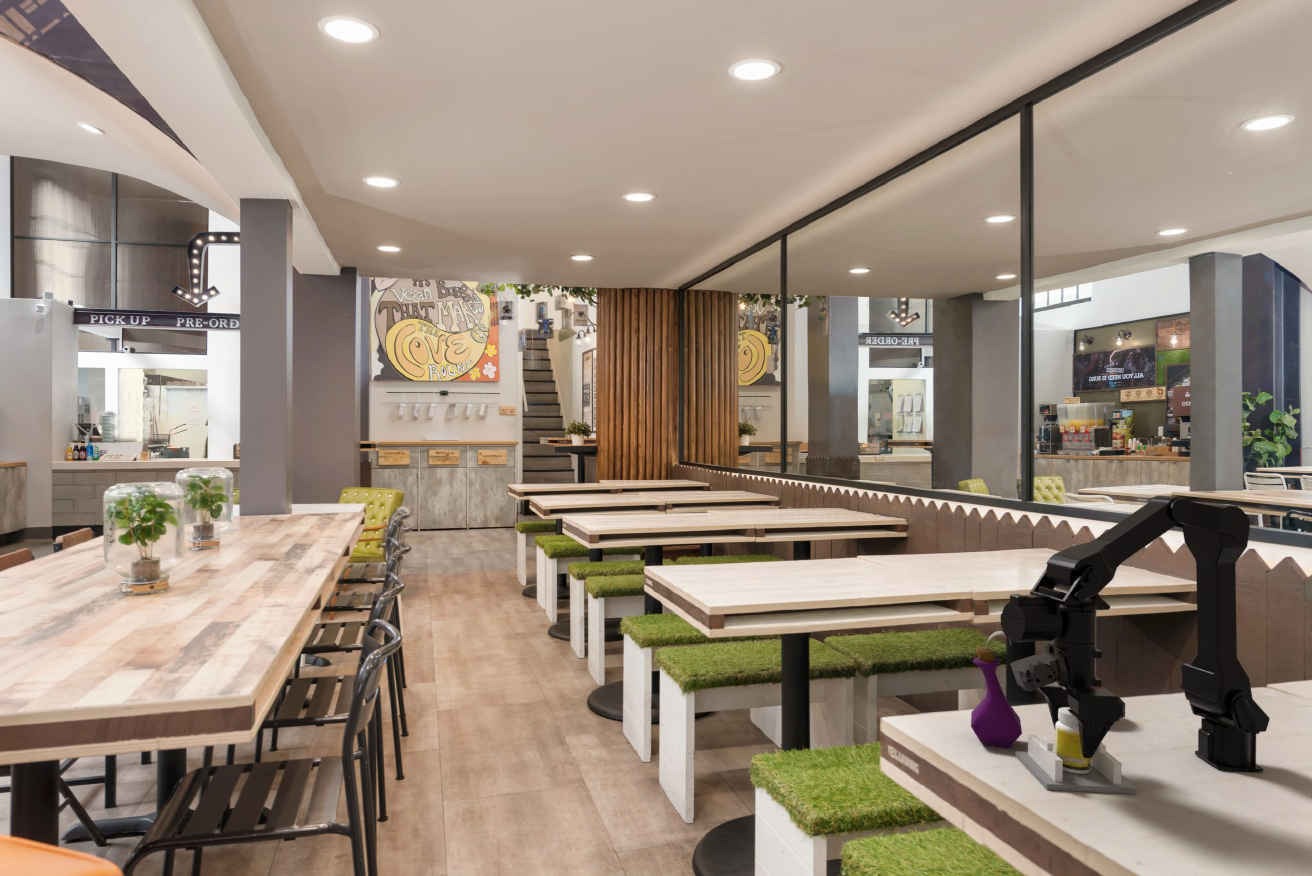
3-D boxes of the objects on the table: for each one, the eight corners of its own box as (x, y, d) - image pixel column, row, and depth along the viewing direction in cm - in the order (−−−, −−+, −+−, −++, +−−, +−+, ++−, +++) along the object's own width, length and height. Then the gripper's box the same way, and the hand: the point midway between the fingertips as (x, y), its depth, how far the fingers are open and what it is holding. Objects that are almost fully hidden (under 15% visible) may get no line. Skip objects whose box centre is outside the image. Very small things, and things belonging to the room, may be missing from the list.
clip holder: (1095, 760, 124) (1096, 728, 124) (1135, 793, 112) (1136, 759, 112) (1015, 756, 125) (1015, 725, 125) (1046, 789, 113) (1047, 755, 113)
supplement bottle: (1095, 776, 116) (1096, 718, 116) (1060, 773, 117) (1061, 715, 117) (1084, 763, 121) (1085, 707, 121) (1050, 760, 122) (1051, 704, 122)
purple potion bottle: (970, 746, 129) (971, 634, 129) (971, 731, 136) (972, 624, 136) (1021, 753, 127) (1023, 639, 127) (1019, 738, 133) (1021, 629, 134)
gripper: (996, 623, 129) (995, 721, 129) (1042, 654, 110) (1041, 768, 110) (1068, 625, 128) (1067, 724, 128) (1127, 657, 109) (1126, 772, 109)
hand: (1072, 745), depth 119 cm, fingers open, 9 cm apart
